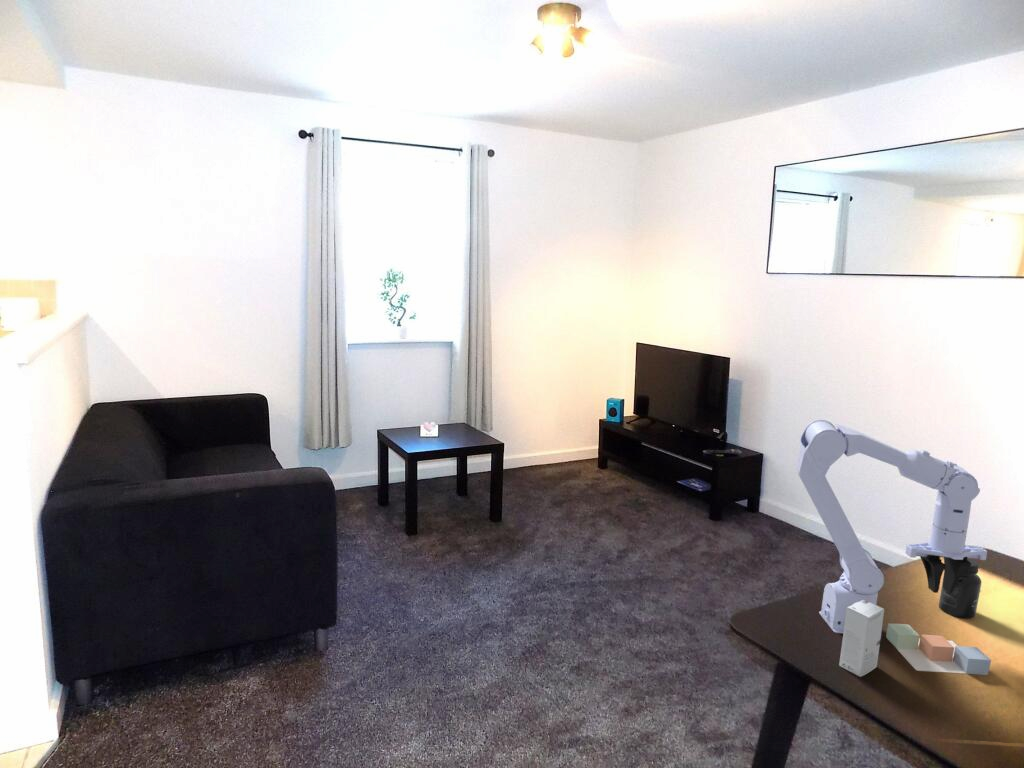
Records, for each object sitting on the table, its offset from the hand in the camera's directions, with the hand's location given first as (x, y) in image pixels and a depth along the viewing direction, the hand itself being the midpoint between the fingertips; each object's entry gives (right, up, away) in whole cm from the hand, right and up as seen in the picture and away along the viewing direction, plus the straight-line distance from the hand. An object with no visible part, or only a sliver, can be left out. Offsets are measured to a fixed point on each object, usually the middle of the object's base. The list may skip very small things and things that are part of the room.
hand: (940, 590), depth 132 cm
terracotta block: (-4, -11, -5) cm, 13 cm away
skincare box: (-21, -12, -9) cm, 26 cm away
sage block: (-8, -10, -1) cm, 13 cm away
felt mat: (-4, -11, -5) cm, 13 cm away
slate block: (0, -12, -8) cm, 15 cm away
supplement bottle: (+12, -9, +13) cm, 19 cm away
